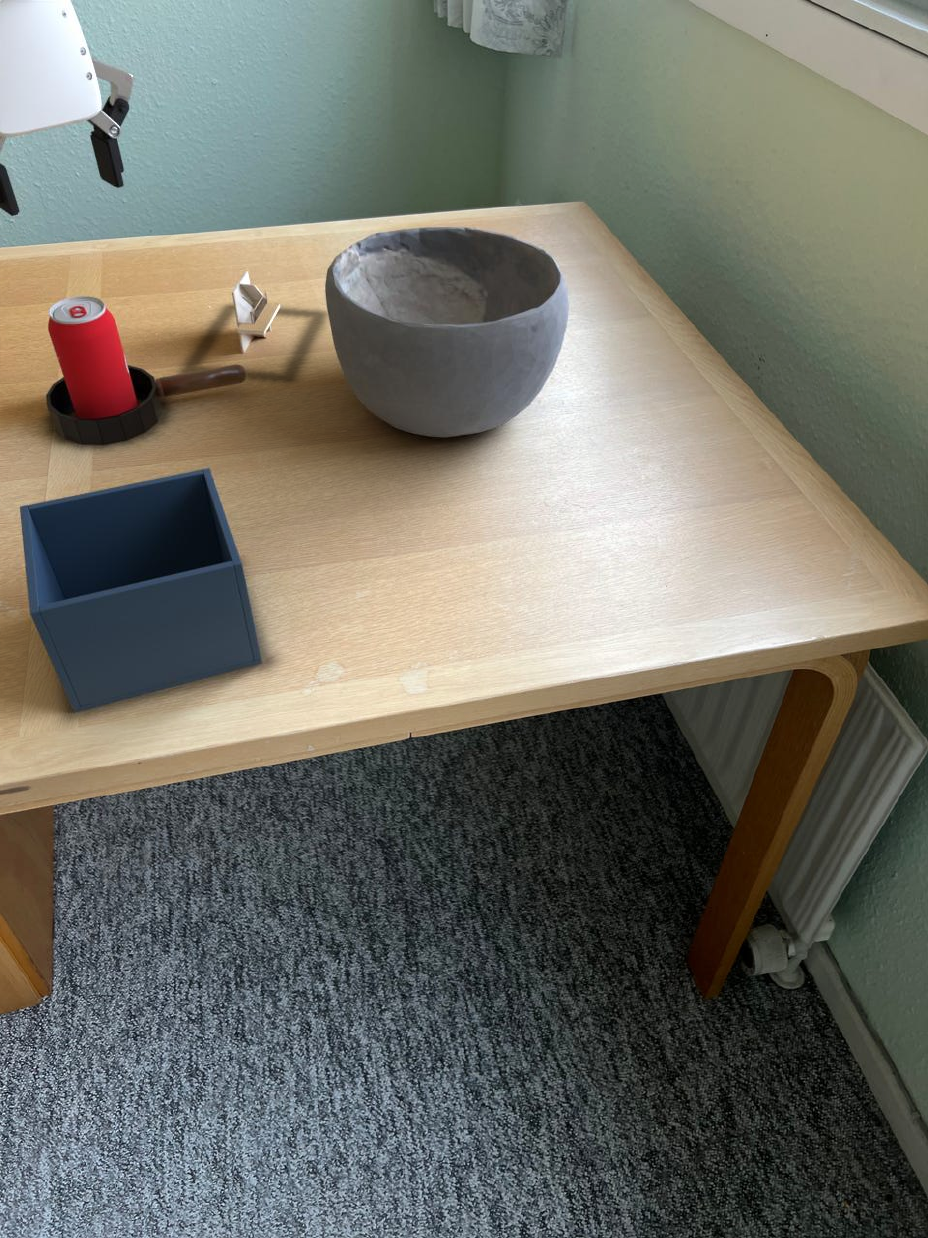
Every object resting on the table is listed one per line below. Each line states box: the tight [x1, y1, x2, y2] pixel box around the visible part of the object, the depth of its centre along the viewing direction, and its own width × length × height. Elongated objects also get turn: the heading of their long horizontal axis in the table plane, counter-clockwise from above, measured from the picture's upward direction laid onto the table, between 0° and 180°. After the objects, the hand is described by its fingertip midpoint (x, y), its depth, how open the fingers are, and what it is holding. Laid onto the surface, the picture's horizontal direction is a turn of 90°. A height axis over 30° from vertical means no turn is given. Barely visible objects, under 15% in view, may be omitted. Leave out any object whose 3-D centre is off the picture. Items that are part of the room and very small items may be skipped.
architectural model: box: [231, 270, 281, 354], centre depth 105 cm, size 3×7×7 cm, turn 173°
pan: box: [45, 364, 248, 446], centre depth 97 cm, size 20×11×3 cm, turn 112°
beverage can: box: [47, 295, 139, 419], centre depth 92 cm, size 6×6×12 cm
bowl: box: [324, 226, 570, 438], centre depth 94 cm, size 24×24×15 cm
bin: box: [19, 467, 263, 714], centre depth 71 cm, size 14×12×11 cm
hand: (62, 196), depth 81 cm, fingers open, 9 cm apart
